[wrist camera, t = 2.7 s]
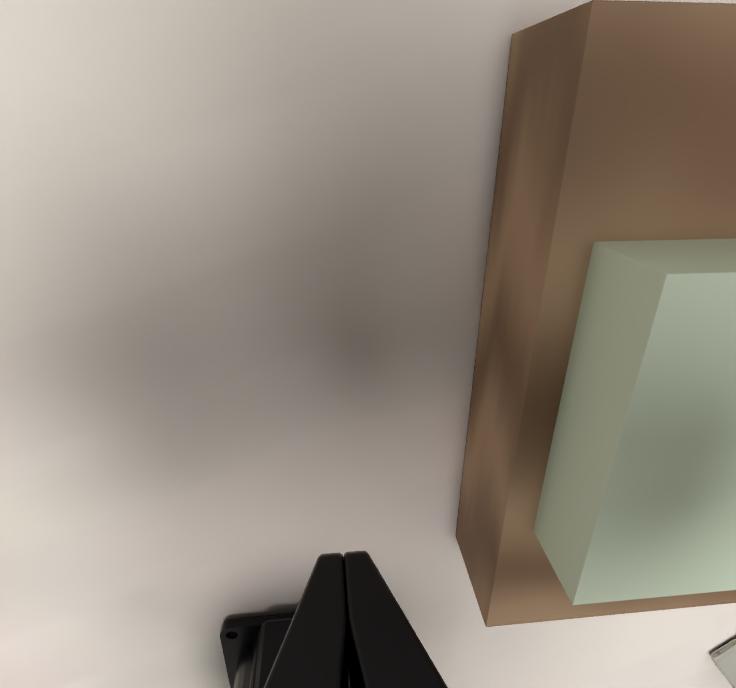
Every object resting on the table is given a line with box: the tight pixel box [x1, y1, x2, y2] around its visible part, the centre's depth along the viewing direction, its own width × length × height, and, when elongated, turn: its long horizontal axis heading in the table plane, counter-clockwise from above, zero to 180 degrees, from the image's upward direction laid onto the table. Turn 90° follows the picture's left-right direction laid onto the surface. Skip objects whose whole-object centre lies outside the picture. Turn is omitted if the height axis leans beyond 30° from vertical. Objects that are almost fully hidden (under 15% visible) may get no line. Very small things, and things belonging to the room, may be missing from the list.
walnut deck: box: [456, 0, 736, 627], centre depth 15 cm, size 18×12×4 cm, turn 0°
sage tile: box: [533, 238, 736, 605], centre depth 12 cm, size 9×6×2 cm, turn 0°
